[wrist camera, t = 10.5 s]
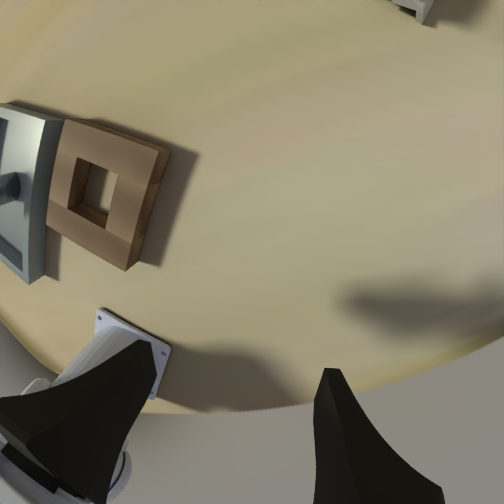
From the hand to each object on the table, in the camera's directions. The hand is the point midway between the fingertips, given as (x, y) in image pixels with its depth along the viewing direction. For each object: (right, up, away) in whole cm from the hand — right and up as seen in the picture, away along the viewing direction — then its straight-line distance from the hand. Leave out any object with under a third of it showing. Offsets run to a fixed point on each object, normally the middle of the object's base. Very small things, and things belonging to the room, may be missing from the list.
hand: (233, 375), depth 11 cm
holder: (-11, +10, +9) cm, 17 cm away
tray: (-23, +12, +10) cm, 28 cm away
